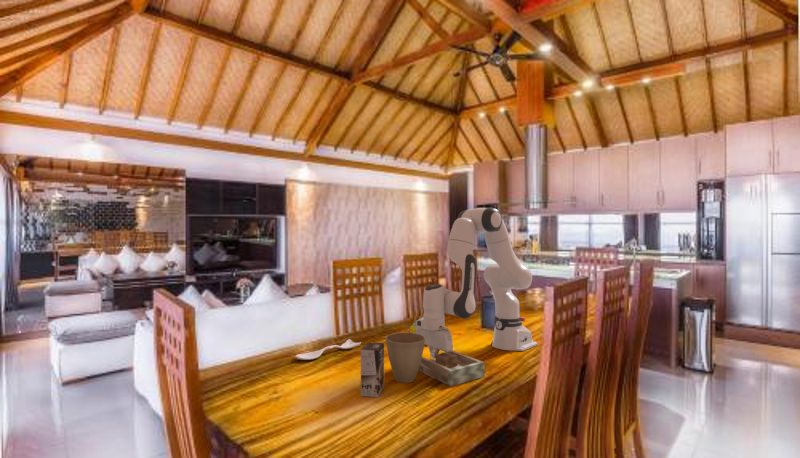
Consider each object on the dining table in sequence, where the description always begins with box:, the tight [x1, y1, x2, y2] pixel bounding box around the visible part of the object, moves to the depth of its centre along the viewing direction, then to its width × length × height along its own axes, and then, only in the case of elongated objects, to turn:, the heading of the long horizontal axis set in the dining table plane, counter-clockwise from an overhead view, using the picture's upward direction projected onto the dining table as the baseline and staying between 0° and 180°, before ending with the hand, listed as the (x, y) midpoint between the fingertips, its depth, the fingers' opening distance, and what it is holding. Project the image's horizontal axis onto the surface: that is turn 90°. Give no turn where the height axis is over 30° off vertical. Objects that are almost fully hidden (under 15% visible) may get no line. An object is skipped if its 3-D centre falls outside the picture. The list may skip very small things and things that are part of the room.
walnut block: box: [436, 352, 457, 368], centre depth 165 cm, size 6×6×4 cm
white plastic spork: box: [295, 338, 362, 361], centre depth 189 cm, size 9×32×4 cm, turn 134°
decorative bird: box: [406, 316, 423, 333], centre depth 216 cm, size 14×30×9 cm, turn 18°
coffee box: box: [360, 342, 385, 398], centre depth 145 cm, size 9×6×16 cm
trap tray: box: [418, 350, 486, 387], centre depth 163 cm, size 17×22×6 cm
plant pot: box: [385, 332, 425, 384], centre depth 157 cm, size 15×15×16 cm
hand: (434, 357), depth 171 cm, fingers closed
